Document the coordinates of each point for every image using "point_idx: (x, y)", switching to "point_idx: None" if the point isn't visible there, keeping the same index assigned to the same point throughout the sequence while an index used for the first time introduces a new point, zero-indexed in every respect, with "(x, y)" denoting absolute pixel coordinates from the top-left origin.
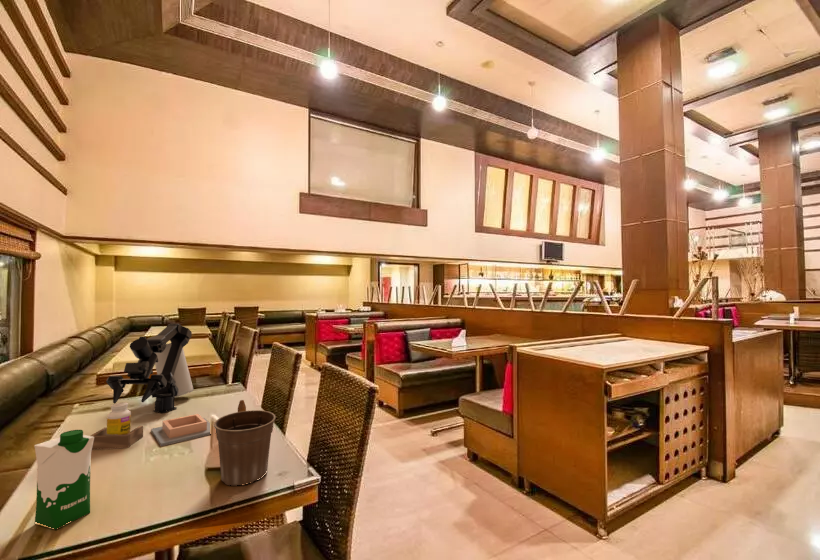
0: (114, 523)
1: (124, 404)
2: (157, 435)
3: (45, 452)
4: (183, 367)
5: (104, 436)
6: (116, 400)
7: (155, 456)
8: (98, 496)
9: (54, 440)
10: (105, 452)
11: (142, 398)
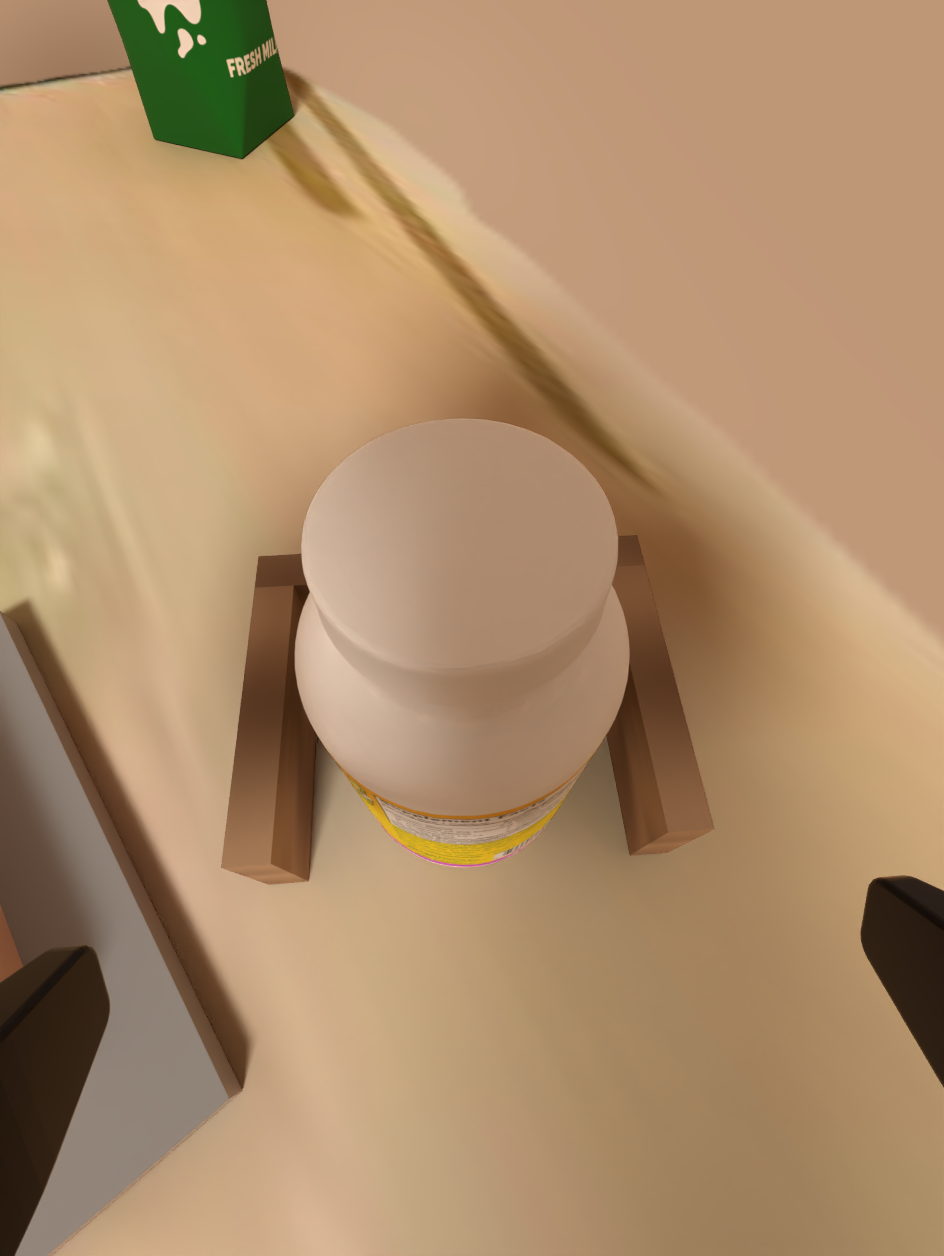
0: (55, 108)
1: (338, 507)
2: (75, 815)
3: None
4: None
5: None
6: (937, 1022)
7: (25, 470)
8: (176, 197)
9: None
10: None
11: (13, 1004)
